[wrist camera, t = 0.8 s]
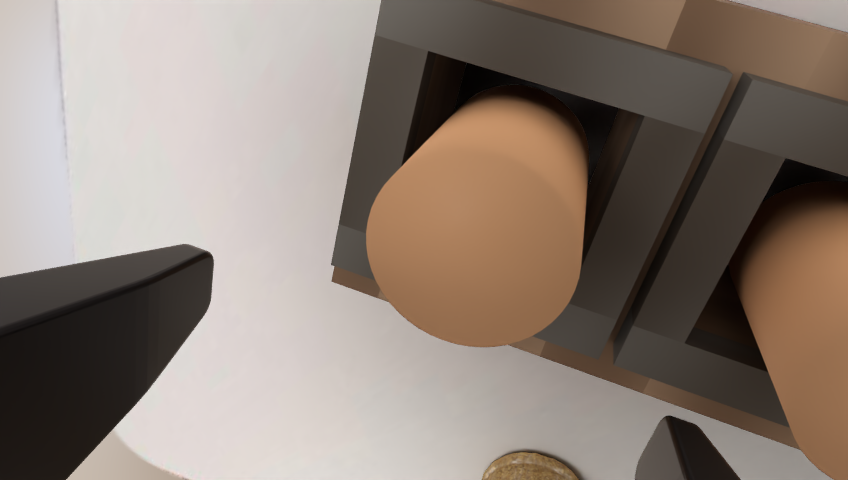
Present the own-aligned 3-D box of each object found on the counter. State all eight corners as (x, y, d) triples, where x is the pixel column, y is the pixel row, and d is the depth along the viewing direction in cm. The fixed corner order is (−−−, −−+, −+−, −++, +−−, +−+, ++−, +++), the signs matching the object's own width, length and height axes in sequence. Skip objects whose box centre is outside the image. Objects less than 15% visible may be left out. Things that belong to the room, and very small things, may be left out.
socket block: (1024, 80, 16) (1228, 139, 11) (823, 369, 21) (897, 508, 16) (451, -75, 18) (388, -88, 13) (384, 219, 23) (317, 297, 18)
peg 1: (612, 110, 15) (616, 190, 10) (559, 247, 17) (539, 375, 12) (461, 64, 16) (389, 118, 11) (425, 202, 18) (349, 305, 12)
